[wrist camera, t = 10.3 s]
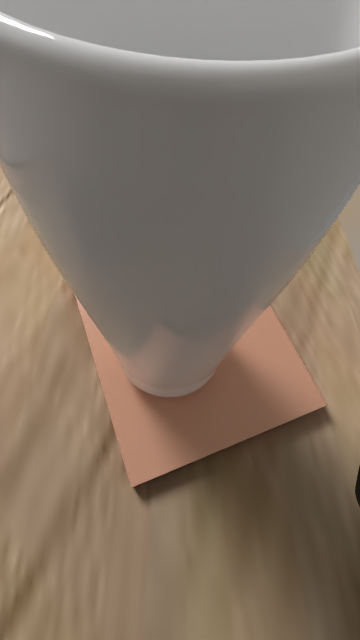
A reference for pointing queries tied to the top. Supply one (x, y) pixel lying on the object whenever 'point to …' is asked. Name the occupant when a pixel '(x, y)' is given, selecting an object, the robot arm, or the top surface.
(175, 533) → the top surface
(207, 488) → the top surface
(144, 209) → the white cup
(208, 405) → the terracotta tile
